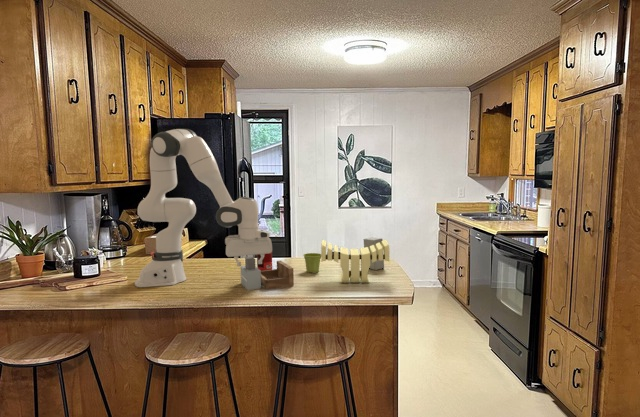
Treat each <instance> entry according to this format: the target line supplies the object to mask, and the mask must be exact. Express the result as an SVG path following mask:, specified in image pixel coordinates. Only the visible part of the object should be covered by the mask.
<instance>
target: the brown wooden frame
mask: <svg viewBox="0 0 640 417" xmlns="http://www.w3.org/2000/svg"><path fill="white" fill-rule="evenodd" d="M294 285H295V284H294V267H292V266H290V265H288V264H287V263H286V262H284V261H282V260H276V269H272V270H264V271H261V287H263V288H264V289H265V290H272V289H281V288H288V287H294Z"/></svg>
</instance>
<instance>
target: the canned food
mask: <svg viewBox="0 0 640 417" xmlns="http://www.w3.org/2000/svg"><path fill="white" fill-rule="evenodd" d="M260 258H261V256H260V254H257V255H256V267H257V268H258V269H259V270H261V271H264V270H273V251H272V252H271V253H268V254H264V258H263V260H262V264H258V260H260Z"/></svg>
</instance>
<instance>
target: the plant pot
mask: <svg viewBox="0 0 640 417" xmlns="http://www.w3.org/2000/svg"><path fill="white" fill-rule="evenodd" d="M303 258H304V261H305V270H306V272H307V273H309V274H310V273H311V274H312V273H313V274H315V273H318V272H319V271H320V264H321V253H318V252H310V253H309V252H307V253H304V254H303Z"/></svg>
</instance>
